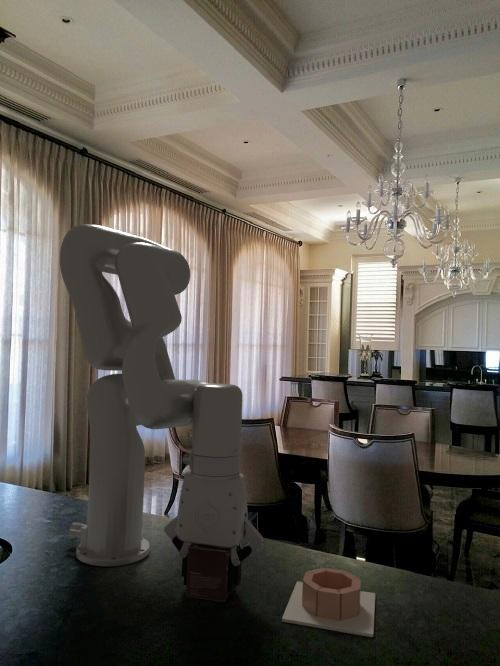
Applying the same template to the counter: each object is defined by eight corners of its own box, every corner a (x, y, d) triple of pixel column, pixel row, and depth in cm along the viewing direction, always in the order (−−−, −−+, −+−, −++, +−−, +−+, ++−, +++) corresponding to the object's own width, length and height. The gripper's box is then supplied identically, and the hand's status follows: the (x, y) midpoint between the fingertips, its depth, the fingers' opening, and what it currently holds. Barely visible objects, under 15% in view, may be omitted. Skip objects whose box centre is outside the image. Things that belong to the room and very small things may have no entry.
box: (224, 603, 73) (226, 551, 73) (184, 598, 74) (187, 547, 74) (234, 585, 79) (236, 537, 79) (197, 580, 80) (199, 533, 80)
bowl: (299, 613, 70) (299, 587, 70) (307, 588, 77) (308, 565, 78) (358, 623, 68) (358, 597, 68) (361, 597, 75) (361, 573, 75)
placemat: (281, 621, 68) (281, 618, 68) (297, 583, 80) (297, 581, 80) (373, 637, 65) (373, 634, 65) (375, 595, 77) (375, 593, 77)
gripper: (152, 464, 76) (147, 587, 75) (264, 475, 71) (260, 606, 70) (173, 455, 83) (168, 567, 82) (276, 465, 78) (272, 583, 78)
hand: (210, 584), depth 76 cm, fingers closed on box, 6 cm apart
